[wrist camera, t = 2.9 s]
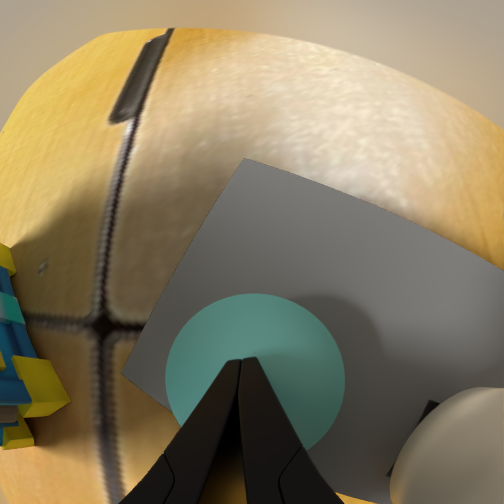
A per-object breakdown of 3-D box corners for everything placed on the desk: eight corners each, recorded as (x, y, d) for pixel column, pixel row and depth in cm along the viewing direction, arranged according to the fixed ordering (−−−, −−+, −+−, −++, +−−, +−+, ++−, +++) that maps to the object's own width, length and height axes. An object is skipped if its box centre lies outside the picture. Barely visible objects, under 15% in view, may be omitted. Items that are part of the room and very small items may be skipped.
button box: (423, 471, 12) (473, 514, 5) (186, 369, 17) (120, 373, 10) (486, 326, 14) (555, 305, 7) (264, 226, 20) (244, 157, 13)
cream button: (438, 499, 7) (483, 540, 2) (346, 478, 8) (367, 538, 4) (492, 398, 8) (559, 404, 4) (409, 366, 10) (470, 368, 5)
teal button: (292, 446, 11) (287, 490, 6) (191, 392, 12) (140, 406, 8) (349, 344, 12) (375, 339, 7) (244, 295, 14) (215, 264, 9)
